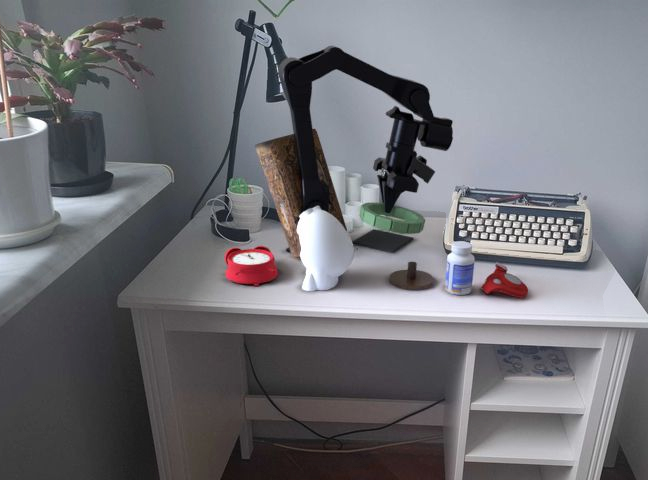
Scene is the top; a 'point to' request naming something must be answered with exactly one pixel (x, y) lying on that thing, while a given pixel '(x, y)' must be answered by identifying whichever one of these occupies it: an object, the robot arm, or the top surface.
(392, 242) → the mat
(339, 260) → the figurine
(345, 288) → the top surface
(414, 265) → the ring stand
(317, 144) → the book
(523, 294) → the tracker holder
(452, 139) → the robot arm
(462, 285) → the pill bottle
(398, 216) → the ring
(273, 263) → the alarm clock
